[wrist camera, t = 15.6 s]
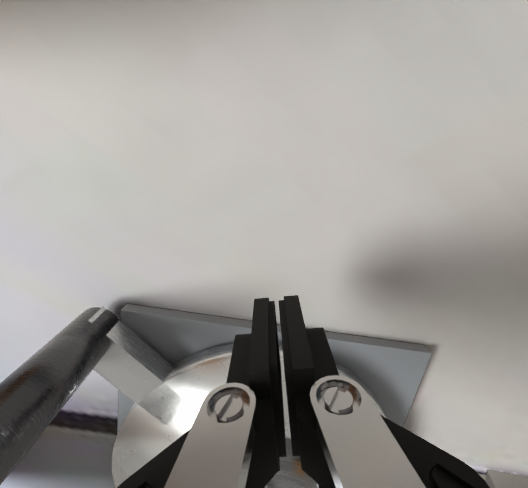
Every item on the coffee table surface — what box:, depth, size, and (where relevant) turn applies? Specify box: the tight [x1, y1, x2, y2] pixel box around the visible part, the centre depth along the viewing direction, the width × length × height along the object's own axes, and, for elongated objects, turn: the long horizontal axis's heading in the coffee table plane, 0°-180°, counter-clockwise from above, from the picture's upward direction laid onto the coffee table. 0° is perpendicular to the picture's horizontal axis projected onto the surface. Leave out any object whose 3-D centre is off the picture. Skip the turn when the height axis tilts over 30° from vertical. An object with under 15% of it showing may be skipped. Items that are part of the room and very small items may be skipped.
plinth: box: [117, 304, 432, 434], centre depth 20 cm, size 19×19×1 cm
